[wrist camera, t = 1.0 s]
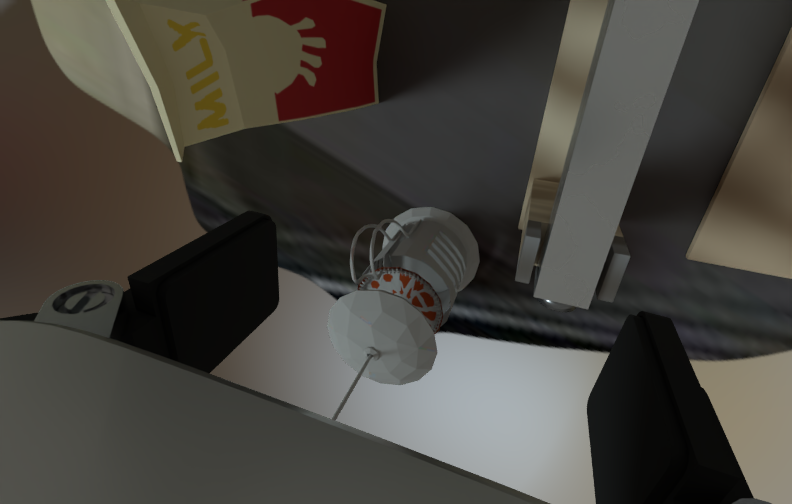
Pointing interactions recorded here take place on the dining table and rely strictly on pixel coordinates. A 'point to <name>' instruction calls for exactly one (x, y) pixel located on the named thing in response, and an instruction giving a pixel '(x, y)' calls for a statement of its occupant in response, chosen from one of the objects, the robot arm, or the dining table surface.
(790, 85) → the wooden board
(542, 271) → the rail
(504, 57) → the dining table surface
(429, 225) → the french press
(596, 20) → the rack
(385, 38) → the dining table surface
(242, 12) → the milk carton
